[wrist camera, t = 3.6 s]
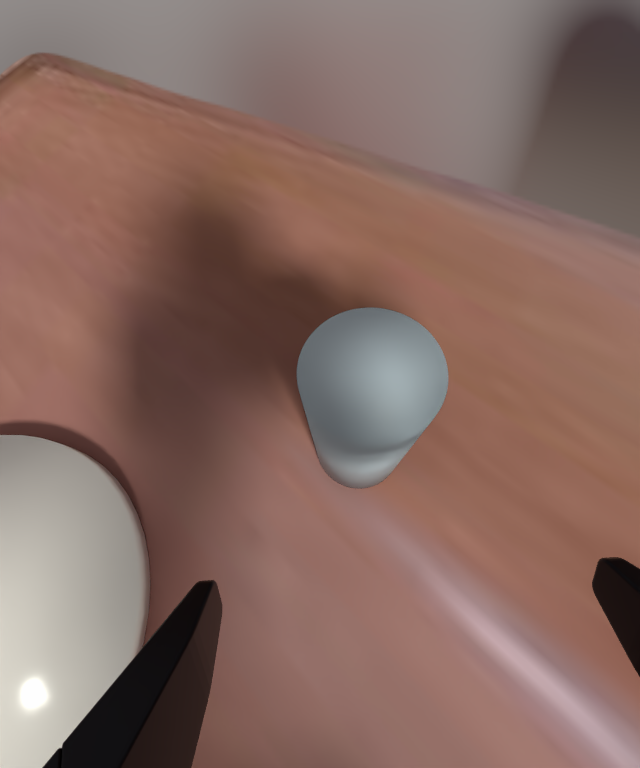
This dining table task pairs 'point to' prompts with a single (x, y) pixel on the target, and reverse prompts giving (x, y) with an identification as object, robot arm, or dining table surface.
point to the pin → (369, 391)
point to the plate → (63, 592)
